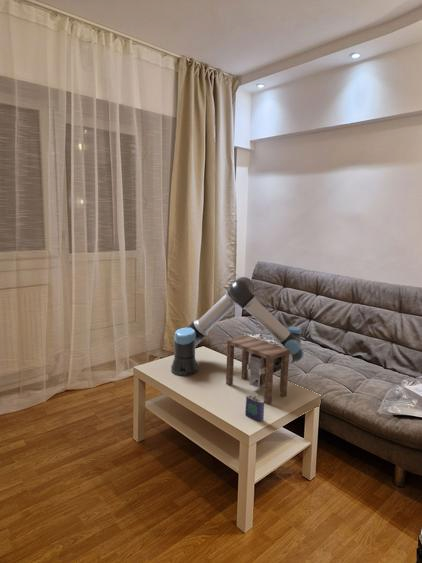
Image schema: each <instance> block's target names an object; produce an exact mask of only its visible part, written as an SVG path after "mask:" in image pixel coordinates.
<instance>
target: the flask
mask: <svg viewBox="0 0 422 563" xmlns="http://www.w3.org/2000/svg"><path fill="white" fill-rule="evenodd" d="M257 397H258V395H257V394H253V395H252V394H248V395H246V398H245V399H246V400H245V411H244V412H245V413H244V414H245V416H246V417H247V418H249V419H251V420H253V421H257V422H259V423H263V422H264V420H265V419H264V417H265V416H264V413H265V410H264V409H265V403H264V399H259V398H257Z"/></svg>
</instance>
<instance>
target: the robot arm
mask: <svg viewBox="0 0 422 563" xmlns="http://www.w3.org/2000/svg"><path fill="white" fill-rule="evenodd" d="M254 291H255V283H254V281H253V280H252V279H251V278H249V277H247V276H240V277H238V278H236V280H235V281H233V282H232V283H231V284H230V285H229V287H227V288H226V290H225V294H224V295H223V296H222V297H221V298H220V299H219V300H218V301H217V302H216V303H215V304H214V305H213V306H211V307H210V308H209V309H208V310H207V311H206V312H205V313H204V314H203V315H202V316H201V317H200V318H199V319H195V320H193V321H192V322H191V323H190V324H189V325H188V326H186V327H182V328H179V329H176V331H175V332H174V336H173V339H174V346H173V347H174V354H173V355H174V357H173V361H172V364H171V367H170V371H171V373H172V374H174V375H176V376H182V377H183V376H192V375H195V374H197V372H199V366H198V363H197V359H196V348H197V347H196V346H198V344H200V343H201V342H203V340H204V339H205V338H207V336H208V335H209V331H210V330H211V329H212V328H213V327H215V325H216V324H218V322H220V321H221V320H222V319H223V318H224V317H225V316H226V315H227V314H228V313H229V312H231V311H232V310H233V308H235V307H236V306H239V307H240V308H241V309H242V310H245V311H247V312H248V313H249V314H250V315H251V316H252V317H253V318H254V319H255V320H256V322H258V323H259V324H260V325H261V326H262V327H263V328H264V329H265V330H266V331H267V332H268V333H269V334H270V335H271V336H272V337H273V338H275V339H276V340H277V342H279V344H280V345H282V347H283V348H286V349H289V350H290V354H289V365H291V364H293V363H296V362H297V363H298V362H299V361H300V360H302V359H303V358H304V355H305V353H304V351H303V348H301V344H302V343H301V342H302V329H301V328H300V327H298V326H289V327H288V328H286V327H285V326H284V325H283V324H282V323H281V322H280V321H279V320H278V319H277V318H276V317H275V316H274V315H273V314H272V313H271V312H270V311H269V310H268V309H267V308H266V307H265V306H264V305H262V303H260V301H258V300H257V299H256V295H255V294H254V293H255V292H254ZM281 359H282V357H279V358H276V359H274V368H273V374H274V373H276V372H279V371H281ZM247 370H248V371H250V363H248V364H247ZM264 373H266V367H264V368H261V369H259V375H261V374H264Z"/></svg>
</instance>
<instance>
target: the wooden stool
mask: <svg viewBox="0 0 422 563" xmlns="http://www.w3.org/2000/svg"><path fill="white" fill-rule="evenodd" d="M226 344H227V347H226V348H227V349H226V373H225V374H226V376H225V385H226V386H233V383H234V362H235V360H234V359H235V348H237V349H239V350H242V354H241V355H242V356H241V372H240V373H241V377H240V378H241V380H243V381H246V380H249V370H247V364H250V363H249V361H250V360H249V358H250V353H251V354H256V355H258V356H261V357H264V358H266V375H265V385H264V394H263V396H264V397H263V398H264V399H263V401H264V405H265V404H266V405H267V406H268V405H271V404H272V401H273V400H272V399H273V384H274V373H273V368H274V359H276V358H279V357H282V359H281V369H280V377H279V378H280V379H279V380H280V381H279V394H278V396H279V397H281V398H286V397H287V394H288V393H287V392H288V381H289V380H288V378H289V366H290V364H289V354H290V350H289V349H286V348H284V346H280V345H277V344H274V343H271V342H268V341H265V340H263V339H262V340H261V339H260V338H257V337H253V336H250V335H247V334H244V335H242V336H237V337H234V338H231V339H227V340H226Z"/></svg>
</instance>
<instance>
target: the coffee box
mask: <svg viewBox="0 0 422 563" xmlns="http://www.w3.org/2000/svg"><path fill="white" fill-rule="evenodd" d="M249 364H250V369H249V385H250V386H251V387H252V386H253V387H255V388H258V389H261V388H262V387H265V375H266V373H264V374H261V375H259V369H261V368H264V367H266V358H264V357H261V356H258V355H256V354H253V353H251V354H250V363H249Z"/></svg>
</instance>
